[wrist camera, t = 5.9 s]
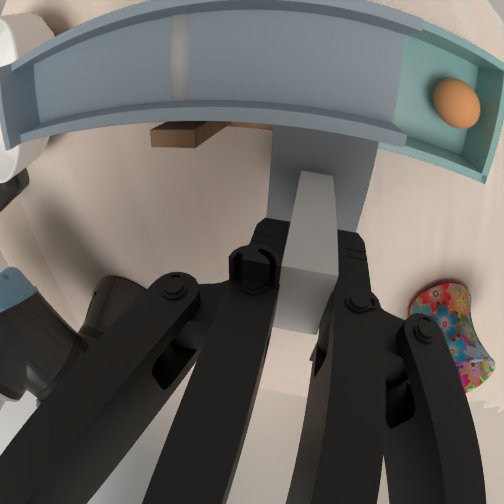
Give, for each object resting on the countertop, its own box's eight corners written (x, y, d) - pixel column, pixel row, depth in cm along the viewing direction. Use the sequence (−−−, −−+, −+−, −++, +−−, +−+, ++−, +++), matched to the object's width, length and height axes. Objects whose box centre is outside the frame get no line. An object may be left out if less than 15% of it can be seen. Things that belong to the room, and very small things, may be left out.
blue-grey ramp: (66, 206, 18) (35, 236, 15) (39, 54, 10) (-6, 67, 7) (355, 238, 16) (364, 288, 13) (397, 21, 7) (433, 9, 4)
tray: (323, 122, 18) (323, 136, 14) (333, 12, 12) (336, -3, 9) (460, 160, 16) (484, 184, 13) (479, 63, 10) (510, 67, 7)
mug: (454, 260, 22) (484, 348, 14) (480, 300, 24) (501, 374, 16) (371, 316, 29) (372, 398, 21) (408, 344, 31) (413, 414, 23)
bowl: (28, 0, 10) (-24, 11, 4) (114, 27, 15) (41, 34, 9) (0, 118, 23) (-40, 142, 16) (66, 177, 27) (19, 213, 21)
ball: (456, 131, 11) (482, 141, 12) (466, 78, 9) (492, 95, 9) (419, 113, 14) (448, 123, 14) (426, 66, 11) (456, 81, 12)
